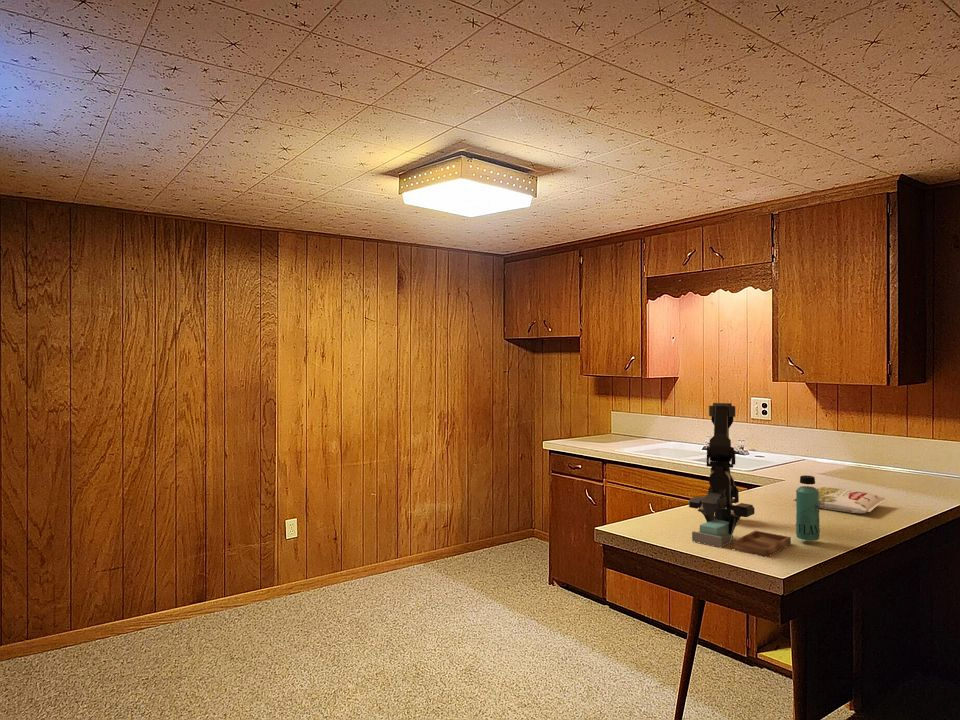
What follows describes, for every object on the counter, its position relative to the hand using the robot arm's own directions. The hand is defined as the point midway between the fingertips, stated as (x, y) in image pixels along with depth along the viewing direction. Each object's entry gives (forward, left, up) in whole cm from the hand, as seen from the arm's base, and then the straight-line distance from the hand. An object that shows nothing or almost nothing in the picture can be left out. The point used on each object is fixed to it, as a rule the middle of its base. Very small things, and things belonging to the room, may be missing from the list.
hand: (721, 533), depth 202 cm
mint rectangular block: (+3, 0, -1) cm, 3 cm away
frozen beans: (-63, +14, -2) cm, 65 cm away
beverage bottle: (-12, +21, -1) cm, 24 cm away
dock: (+6, 0, -1) cm, 6 cm away
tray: (+1, +12, -1) cm, 13 cm away
